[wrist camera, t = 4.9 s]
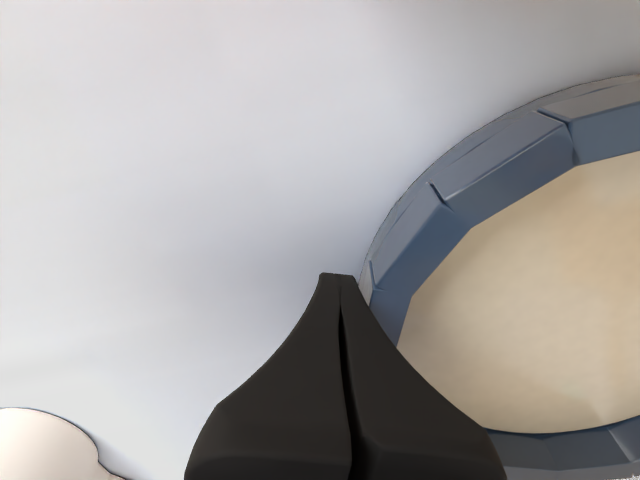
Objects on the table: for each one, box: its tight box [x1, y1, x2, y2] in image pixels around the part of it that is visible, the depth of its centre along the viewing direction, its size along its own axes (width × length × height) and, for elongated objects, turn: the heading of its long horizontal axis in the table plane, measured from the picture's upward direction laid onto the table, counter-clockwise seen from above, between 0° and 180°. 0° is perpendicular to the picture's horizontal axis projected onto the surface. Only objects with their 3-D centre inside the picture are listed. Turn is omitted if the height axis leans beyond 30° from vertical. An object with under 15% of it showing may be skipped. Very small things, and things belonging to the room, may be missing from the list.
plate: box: [359, 74, 640, 480], centre depth 13 cm, size 16×16×3 cm
